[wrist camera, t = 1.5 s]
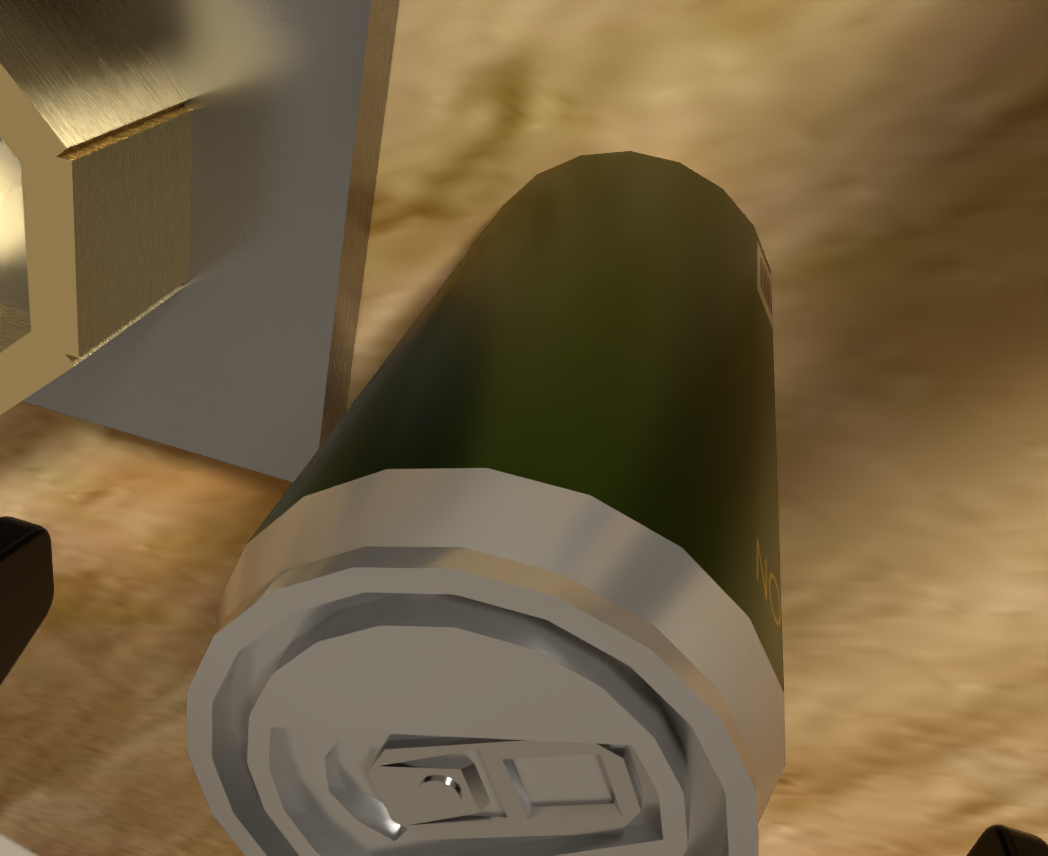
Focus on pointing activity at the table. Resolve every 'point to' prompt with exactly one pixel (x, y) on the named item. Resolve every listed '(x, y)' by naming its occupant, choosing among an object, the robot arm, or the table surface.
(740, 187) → the table surface
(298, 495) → the green soda can
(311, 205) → the cup bracket
